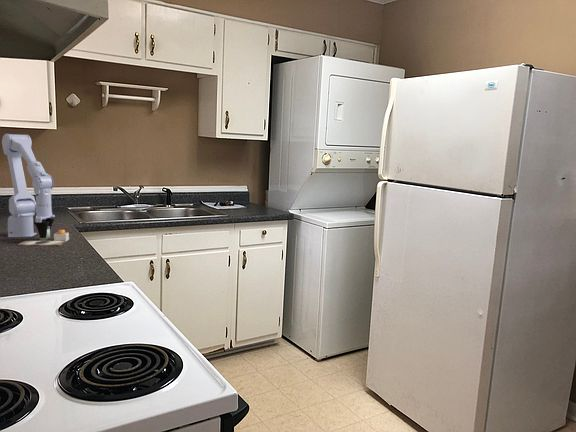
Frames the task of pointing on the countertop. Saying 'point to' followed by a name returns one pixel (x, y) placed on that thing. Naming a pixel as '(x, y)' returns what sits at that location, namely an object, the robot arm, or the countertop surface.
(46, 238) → the ink stamp
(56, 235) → the button box
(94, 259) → the countertop surface
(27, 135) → the robot arm
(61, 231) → the button
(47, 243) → the sketch pad
